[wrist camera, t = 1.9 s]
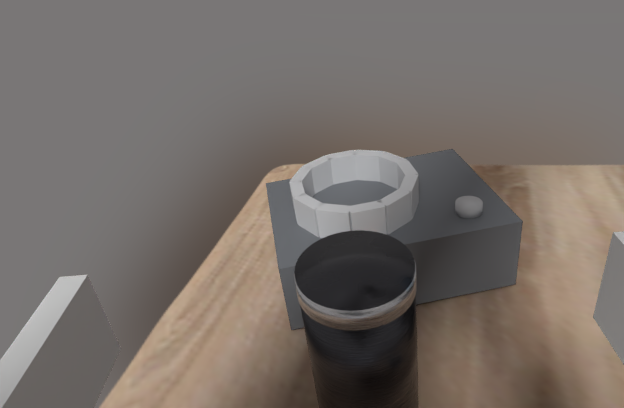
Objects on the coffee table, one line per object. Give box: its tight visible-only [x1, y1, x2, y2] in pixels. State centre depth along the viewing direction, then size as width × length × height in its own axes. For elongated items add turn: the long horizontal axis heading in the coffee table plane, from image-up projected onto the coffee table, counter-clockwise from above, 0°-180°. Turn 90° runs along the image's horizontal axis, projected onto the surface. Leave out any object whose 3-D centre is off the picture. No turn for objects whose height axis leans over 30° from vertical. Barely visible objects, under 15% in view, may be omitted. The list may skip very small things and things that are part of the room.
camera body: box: [266, 149, 523, 330], centre depth 42 cm, size 18×13×8 cm
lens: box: [294, 230, 418, 408], centre depth 28 cm, size 6×6×12 cm
